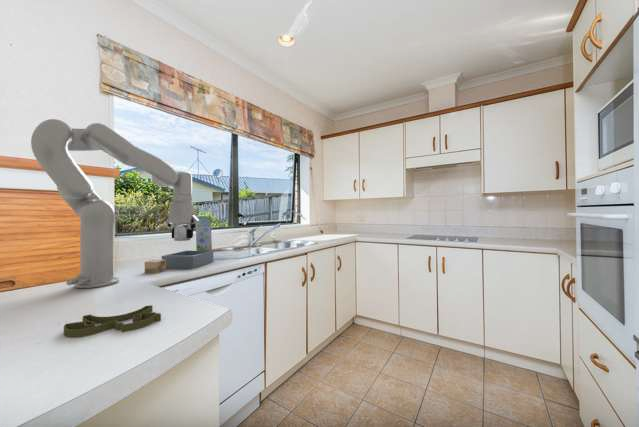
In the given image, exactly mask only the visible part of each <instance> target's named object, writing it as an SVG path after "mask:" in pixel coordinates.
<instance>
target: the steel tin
mask: <svg viewBox="0 0 639 427" xmlns="http://www.w3.org/2000/svg"><path fill="white" fill-rule="evenodd" d="M187 230H189V229H188V226H187V224H178V225H174V238H173V240H174V242H175V241H176V242H181V241H182V242H183V241H184V242H187V241H191V238H187Z"/></svg>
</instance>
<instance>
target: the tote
mask: <svg viewBox="0 0 639 427" xmlns="http://www.w3.org/2000/svg"><path fill="white" fill-rule="evenodd" d="M161 260H166V269H191V268H194V269H196V268H199V267H202V266H205V265H207V263H208V264H210V263H213V262H214V250H212V251H196V249H194V250H187V249H186V250H182V251H177V252H172V253H169V254H163V255H161ZM212 261H213V262H212ZM209 262H210V263H209ZM204 264H205V265H204ZM201 265H202V266H201Z"/></svg>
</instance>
